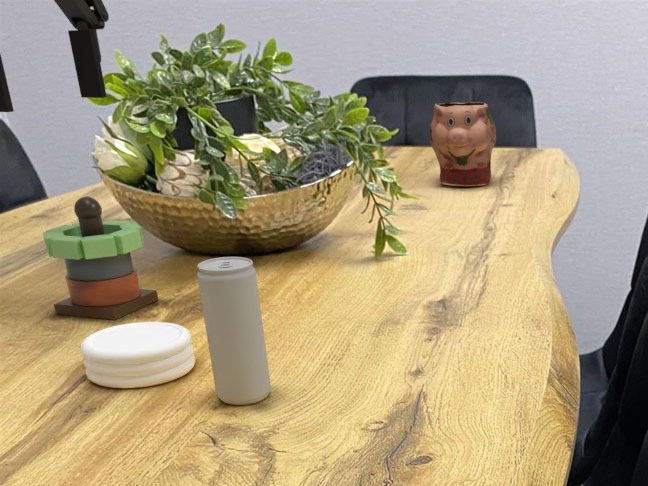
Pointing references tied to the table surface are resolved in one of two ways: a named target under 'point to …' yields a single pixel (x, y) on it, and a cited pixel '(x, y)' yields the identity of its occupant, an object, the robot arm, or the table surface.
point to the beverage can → (234, 329)
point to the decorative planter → (463, 142)
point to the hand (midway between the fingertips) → (49, 104)
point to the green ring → (93, 241)
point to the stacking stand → (101, 276)
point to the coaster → (138, 354)
